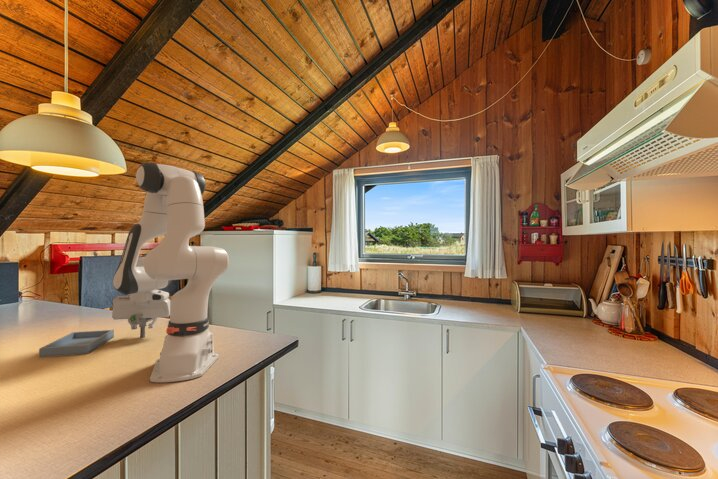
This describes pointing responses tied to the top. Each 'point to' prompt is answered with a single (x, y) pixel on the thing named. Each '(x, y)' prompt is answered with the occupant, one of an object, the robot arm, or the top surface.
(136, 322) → the mechanical component
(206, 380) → the top surface
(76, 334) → the parts tray
